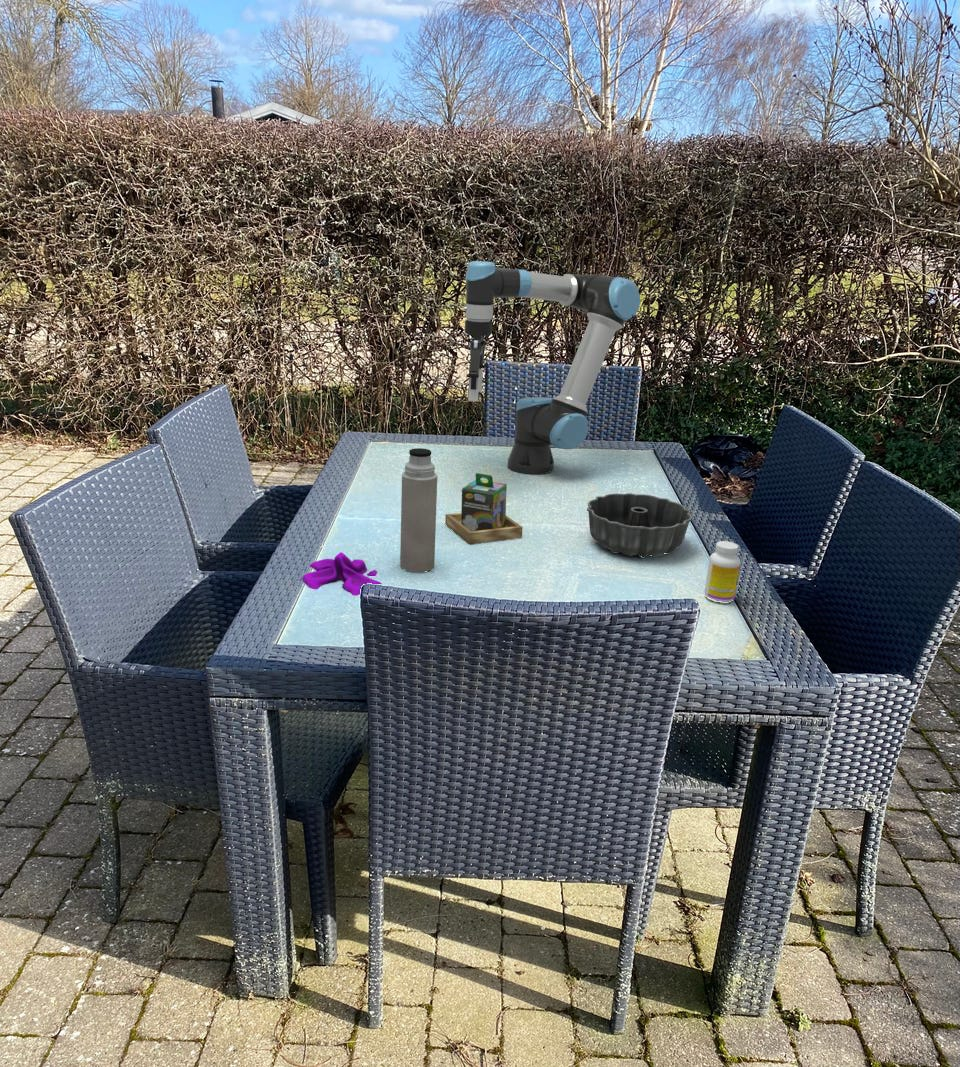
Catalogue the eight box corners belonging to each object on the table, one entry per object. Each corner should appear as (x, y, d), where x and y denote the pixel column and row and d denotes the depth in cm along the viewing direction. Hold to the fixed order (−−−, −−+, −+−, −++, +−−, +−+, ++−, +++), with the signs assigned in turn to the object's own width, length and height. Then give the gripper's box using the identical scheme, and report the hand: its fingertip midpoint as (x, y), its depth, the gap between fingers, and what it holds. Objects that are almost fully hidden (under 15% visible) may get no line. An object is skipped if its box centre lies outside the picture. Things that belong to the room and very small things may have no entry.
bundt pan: (678, 572, 212) (683, 533, 209) (571, 554, 221) (575, 515, 217) (694, 538, 236) (699, 502, 232) (597, 522, 244) (600, 487, 241)
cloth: (378, 599, 191) (378, 572, 189) (292, 594, 192) (291, 567, 190) (391, 560, 212) (392, 536, 210) (313, 556, 213) (313, 531, 210)
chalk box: (505, 525, 235) (509, 471, 229) (492, 536, 227) (495, 480, 222) (473, 519, 238) (476, 466, 233) (459, 529, 230) (461, 474, 225)
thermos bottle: (408, 557, 213) (410, 443, 203) (439, 563, 211) (443, 448, 201) (394, 569, 206) (396, 451, 196) (426, 575, 204) (430, 456, 194)
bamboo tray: (495, 519, 242) (496, 508, 241) (521, 537, 229) (522, 527, 228) (445, 525, 236) (445, 514, 235) (469, 544, 223) (469, 533, 222)
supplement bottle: (738, 604, 197) (747, 550, 192) (709, 604, 196) (717, 550, 191) (728, 592, 203) (736, 539, 198) (700, 592, 202) (707, 539, 198)
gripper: (469, 314, 258) (466, 386, 266) (460, 324, 235) (457, 404, 242) (495, 315, 258) (491, 388, 265) (489, 326, 234) (484, 405, 242)
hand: (475, 396), depth 254 cm, fingers open, 13 cm apart
